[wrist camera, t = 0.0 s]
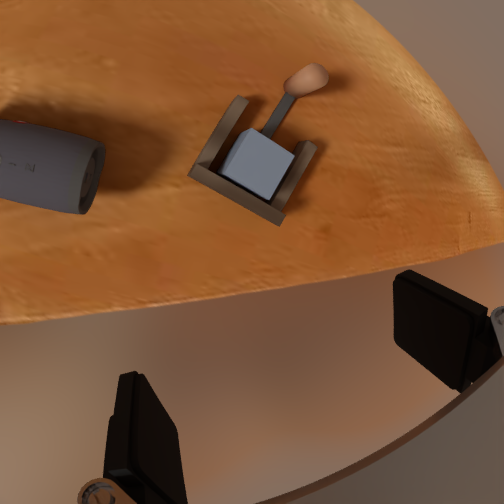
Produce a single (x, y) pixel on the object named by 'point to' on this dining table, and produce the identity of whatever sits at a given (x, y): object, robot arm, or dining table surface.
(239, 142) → the block
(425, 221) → the dining table surface
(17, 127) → the bluetooth speaker
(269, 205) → the dark u-shaped frame
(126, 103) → the dining table surface
